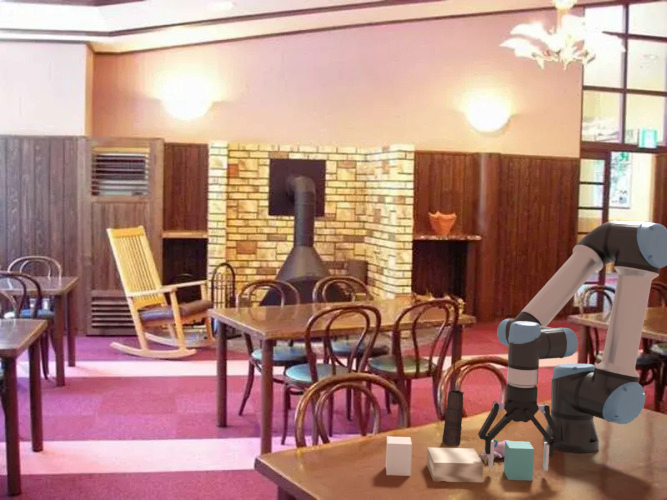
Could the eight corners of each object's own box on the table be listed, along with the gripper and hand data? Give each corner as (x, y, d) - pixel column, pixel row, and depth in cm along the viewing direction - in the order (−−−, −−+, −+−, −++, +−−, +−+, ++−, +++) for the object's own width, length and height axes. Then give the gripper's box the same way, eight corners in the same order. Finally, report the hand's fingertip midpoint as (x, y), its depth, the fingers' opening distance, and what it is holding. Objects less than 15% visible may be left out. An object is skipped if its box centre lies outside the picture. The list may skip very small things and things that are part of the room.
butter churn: (477, 447, 231) (482, 347, 229) (447, 450, 228) (451, 348, 226) (461, 437, 240) (465, 341, 238) (432, 440, 237) (435, 342, 235)
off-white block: (409, 467, 213) (410, 437, 212) (410, 475, 207) (411, 444, 206) (385, 467, 213) (386, 436, 212) (386, 475, 207) (387, 443, 206)
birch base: (473, 467, 215) (473, 448, 215) (482, 483, 203) (483, 463, 203) (426, 466, 215) (427, 447, 215) (433, 482, 203) (434, 462, 203)
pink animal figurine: (491, 471, 216) (524, 451, 226) (490, 450, 215) (523, 430, 224) (472, 465, 220) (505, 445, 230) (470, 444, 219) (504, 425, 229)
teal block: (527, 472, 212) (529, 441, 211) (532, 480, 206) (533, 449, 205) (503, 471, 212) (505, 440, 211) (508, 479, 206) (509, 448, 205)
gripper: (568, 382, 210) (564, 465, 212) (469, 378, 211) (466, 460, 213) (576, 389, 203) (571, 475, 204) (473, 385, 204) (469, 470, 205)
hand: (517, 468), depth 208 cm, fingers open, 13 cm apart
